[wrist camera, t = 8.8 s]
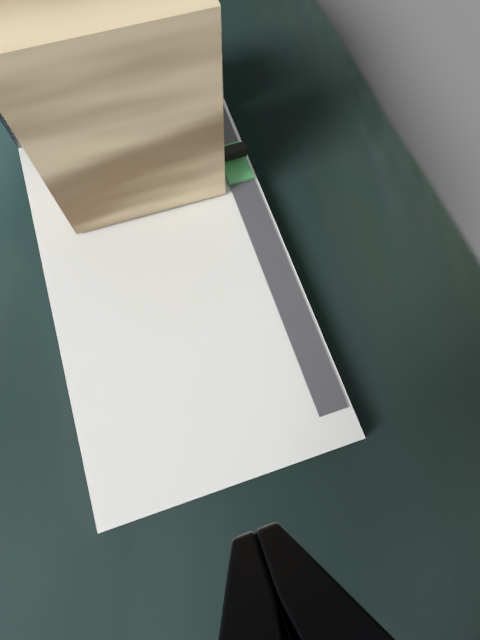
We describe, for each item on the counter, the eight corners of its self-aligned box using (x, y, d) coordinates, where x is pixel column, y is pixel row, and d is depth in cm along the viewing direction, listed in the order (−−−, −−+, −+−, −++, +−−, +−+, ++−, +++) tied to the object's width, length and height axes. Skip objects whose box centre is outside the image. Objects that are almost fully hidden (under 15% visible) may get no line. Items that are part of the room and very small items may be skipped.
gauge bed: (359, 440, 21) (367, 437, 20) (104, 531, 19) (95, 534, 18) (211, 82, 28) (211, 63, 27) (19, 127, 27) (9, 111, 26)
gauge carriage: (257, 184, 24) (272, -6, 15) (76, 234, 23) (-32, 60, 14) (233, 128, 25) (234, -80, 16) (61, 172, 24) (-47, -25, 15)
